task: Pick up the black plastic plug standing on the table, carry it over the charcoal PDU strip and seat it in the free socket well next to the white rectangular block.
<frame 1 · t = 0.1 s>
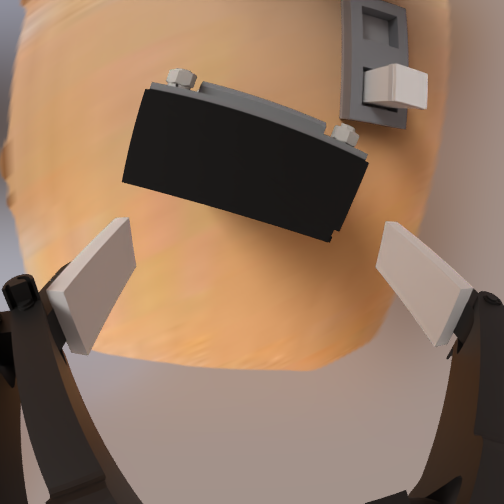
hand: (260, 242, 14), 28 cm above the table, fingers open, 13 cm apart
electrical component: (243, 138, 38), on the table
white rectangular block: (371, 90, 34), point 1 cm above the table, touching pdu strip
pdu strip: (369, 61, 33), on the table
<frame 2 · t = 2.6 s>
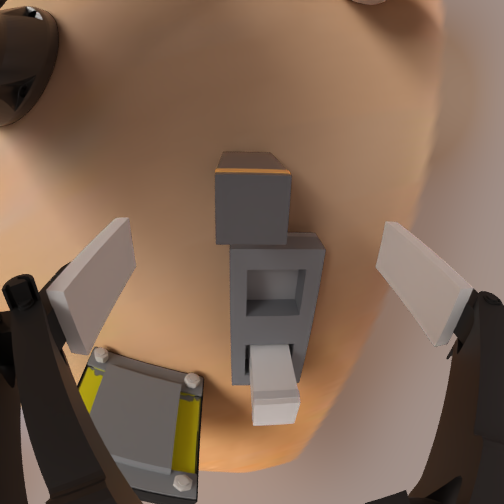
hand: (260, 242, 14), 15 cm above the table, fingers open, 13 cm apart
electrical component: (146, 374, 40), on the table
plug: (246, 174, 27), on the table
white rectangular block: (266, 343, 36), point 1 cm above the table, touching pdu strip
pdu strip: (268, 308, 35), on the table
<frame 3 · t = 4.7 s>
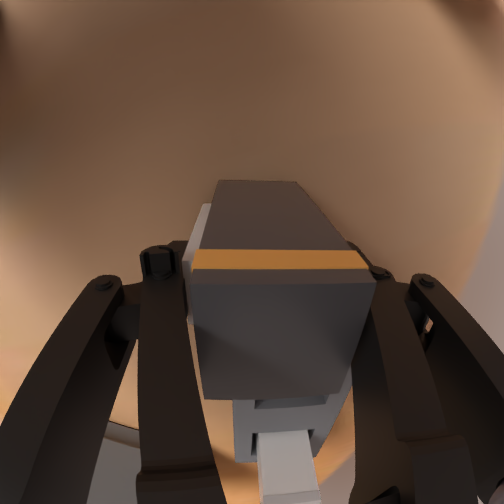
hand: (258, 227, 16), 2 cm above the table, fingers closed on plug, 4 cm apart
electrical component: (134, 437, 30), on the table
plug: (256, 217, 17), on the table, touching gripper
white rectangular block: (278, 420, 26), point 1 cm above the table, touching pdu strip
pdu strip: (282, 385, 25), on the table
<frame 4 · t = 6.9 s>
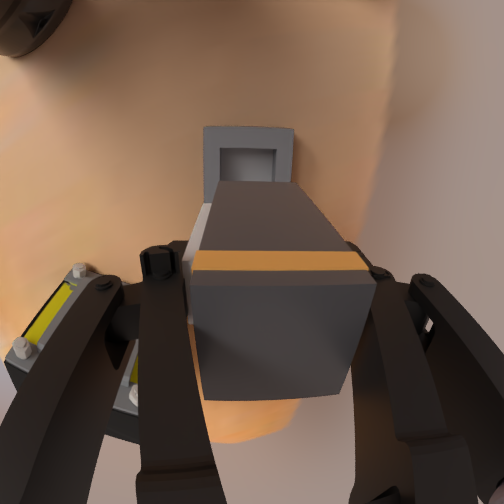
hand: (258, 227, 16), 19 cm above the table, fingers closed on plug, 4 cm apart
electrical component: (124, 299, 40), on the table
plug: (256, 217, 17), point 17 cm above the table, touching gripper
pdu strip: (245, 209, 35), on the table
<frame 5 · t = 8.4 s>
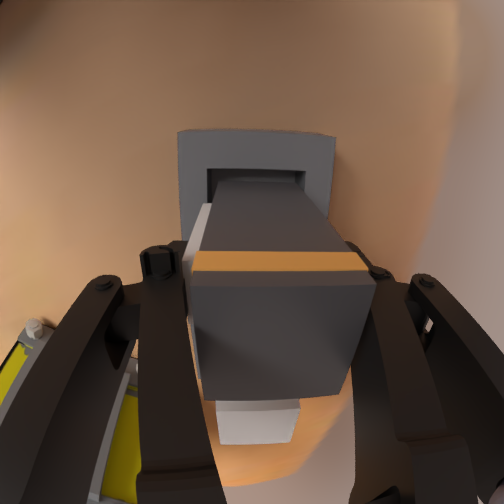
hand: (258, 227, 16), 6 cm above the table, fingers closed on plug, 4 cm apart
electrical component: (94, 361, 28), on the table
plug: (256, 218, 17), point 4 cm above the table, touching gripper
white rectangular block: (248, 316, 24), point 1 cm above the table, touching pdu strip
pdu strip: (250, 258, 23), on the table
when the fingers open (5 cm above the table, at t = 9.4 s): plug drops 2 cm, resting on pdu strip.
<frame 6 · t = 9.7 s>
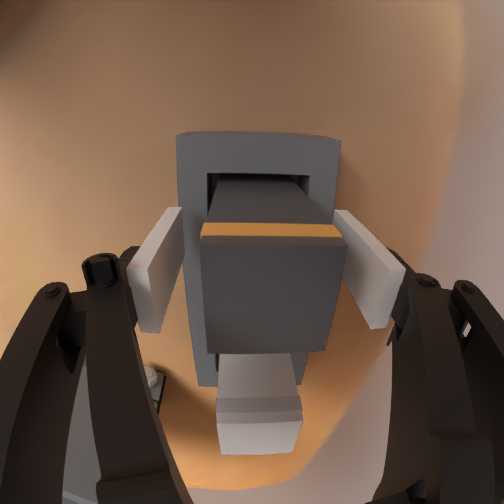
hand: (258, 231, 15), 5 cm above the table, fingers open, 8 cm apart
electrical component: (93, 366, 28), on the table
plug: (254, 206, 19), point 1 cm above the table, touching pdu strip
white rectangular block: (250, 323, 24), point 1 cm above the table, touching pdu strip
pdu strip: (251, 265, 22), on the table
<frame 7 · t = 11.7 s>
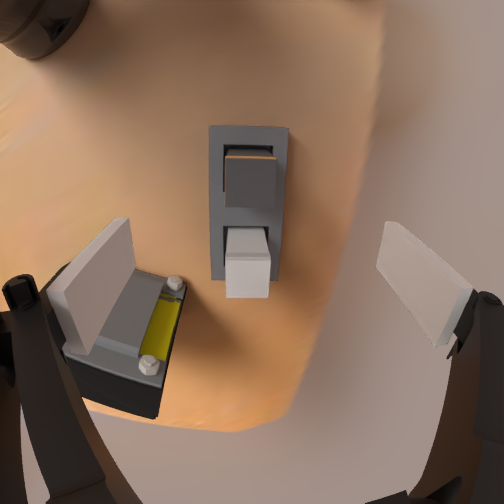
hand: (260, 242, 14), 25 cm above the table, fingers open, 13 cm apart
electrical component: (132, 285, 44), on the table
plug: (246, 164, 35), point 1 cm above the table, touching pdu strip
white rectangular block: (245, 237, 40), point 1 cm above the table, touching pdu strip
pdu strip: (245, 200, 38), on the table
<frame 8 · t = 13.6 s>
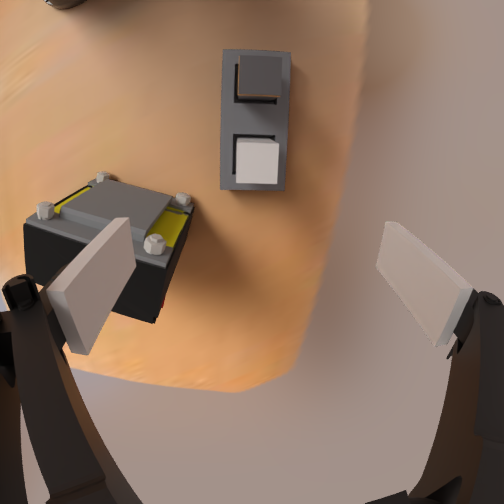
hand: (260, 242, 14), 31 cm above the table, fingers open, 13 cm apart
electrical component: (140, 208, 44), on the table
plug: (254, 86, 36), point 1 cm above the table, touching pdu strip
white rectangular block: (252, 152, 40), point 1 cm above the table, touching pdu strip
pdu strip: (253, 119, 39), on the table
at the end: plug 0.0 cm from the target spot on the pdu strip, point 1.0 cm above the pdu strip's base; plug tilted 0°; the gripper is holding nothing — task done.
